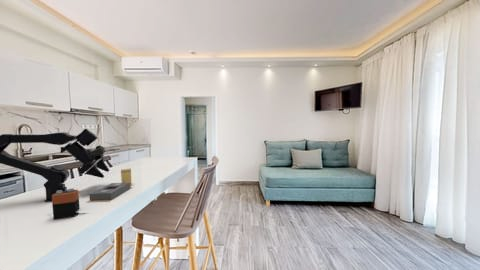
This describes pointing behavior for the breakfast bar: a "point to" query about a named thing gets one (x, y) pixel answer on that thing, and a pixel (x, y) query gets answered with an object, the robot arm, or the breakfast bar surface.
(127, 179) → the plug
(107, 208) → the breakfast bar surface
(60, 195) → the battery
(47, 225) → the breakfast bar surface
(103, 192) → the panel
